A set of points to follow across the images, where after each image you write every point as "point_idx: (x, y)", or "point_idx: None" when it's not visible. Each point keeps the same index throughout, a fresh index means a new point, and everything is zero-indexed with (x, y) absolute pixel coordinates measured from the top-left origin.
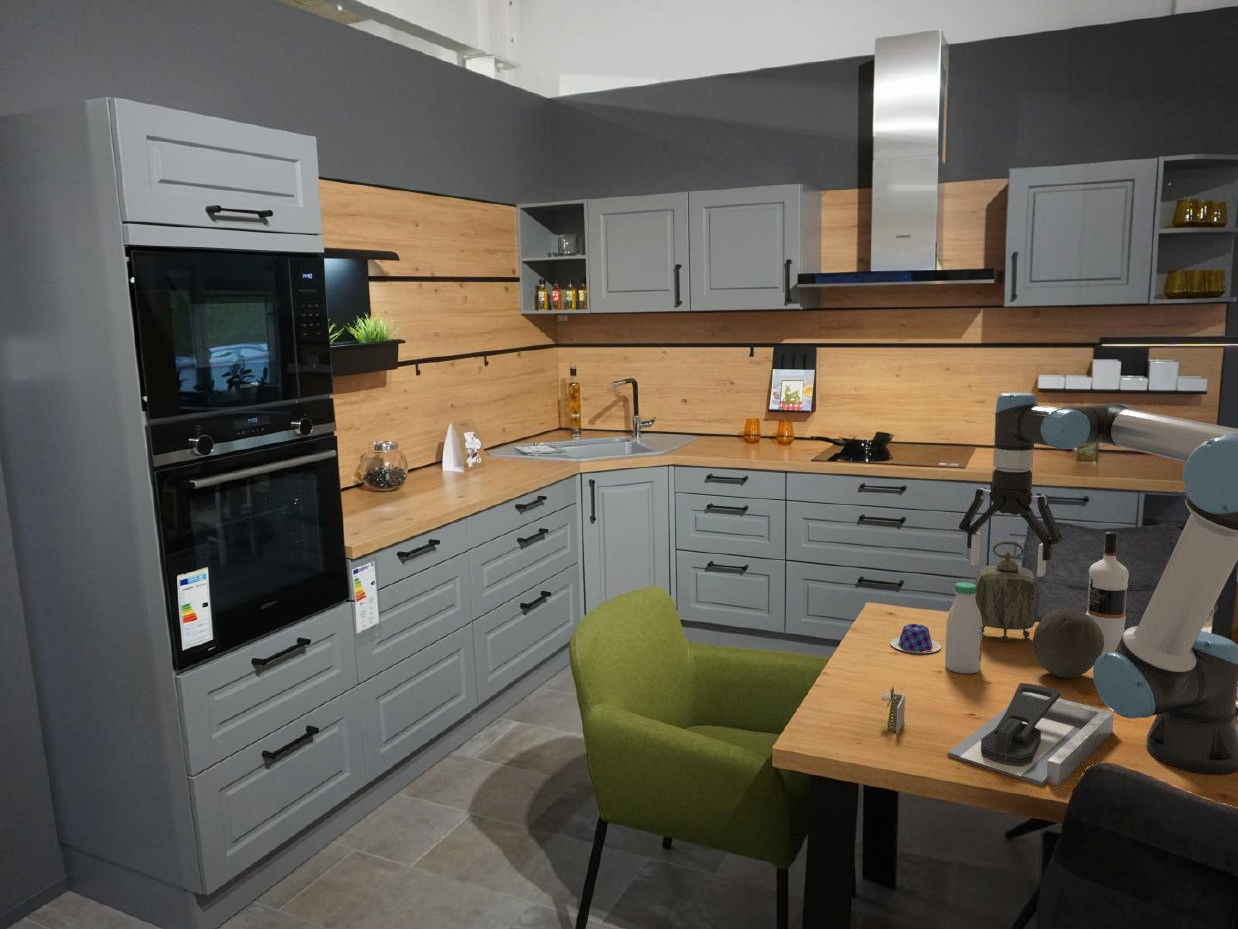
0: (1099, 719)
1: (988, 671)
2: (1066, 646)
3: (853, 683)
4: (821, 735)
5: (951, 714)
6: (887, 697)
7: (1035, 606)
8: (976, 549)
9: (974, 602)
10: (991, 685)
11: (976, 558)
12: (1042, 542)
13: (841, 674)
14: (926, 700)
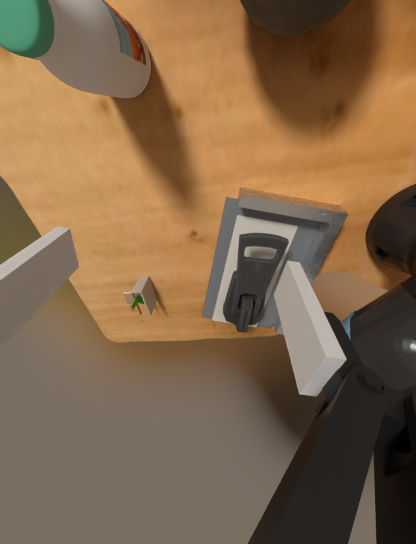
0: (327, 243)
1: (162, 47)
2: (308, 23)
3: (58, 216)
4: (115, 321)
5: (177, 243)
6: (131, 302)
7: None
8: (41, 287)
9: (71, 31)
10: (186, 123)
11: (63, 261)
12: (320, 408)
13: (28, 196)
14: (142, 222)
